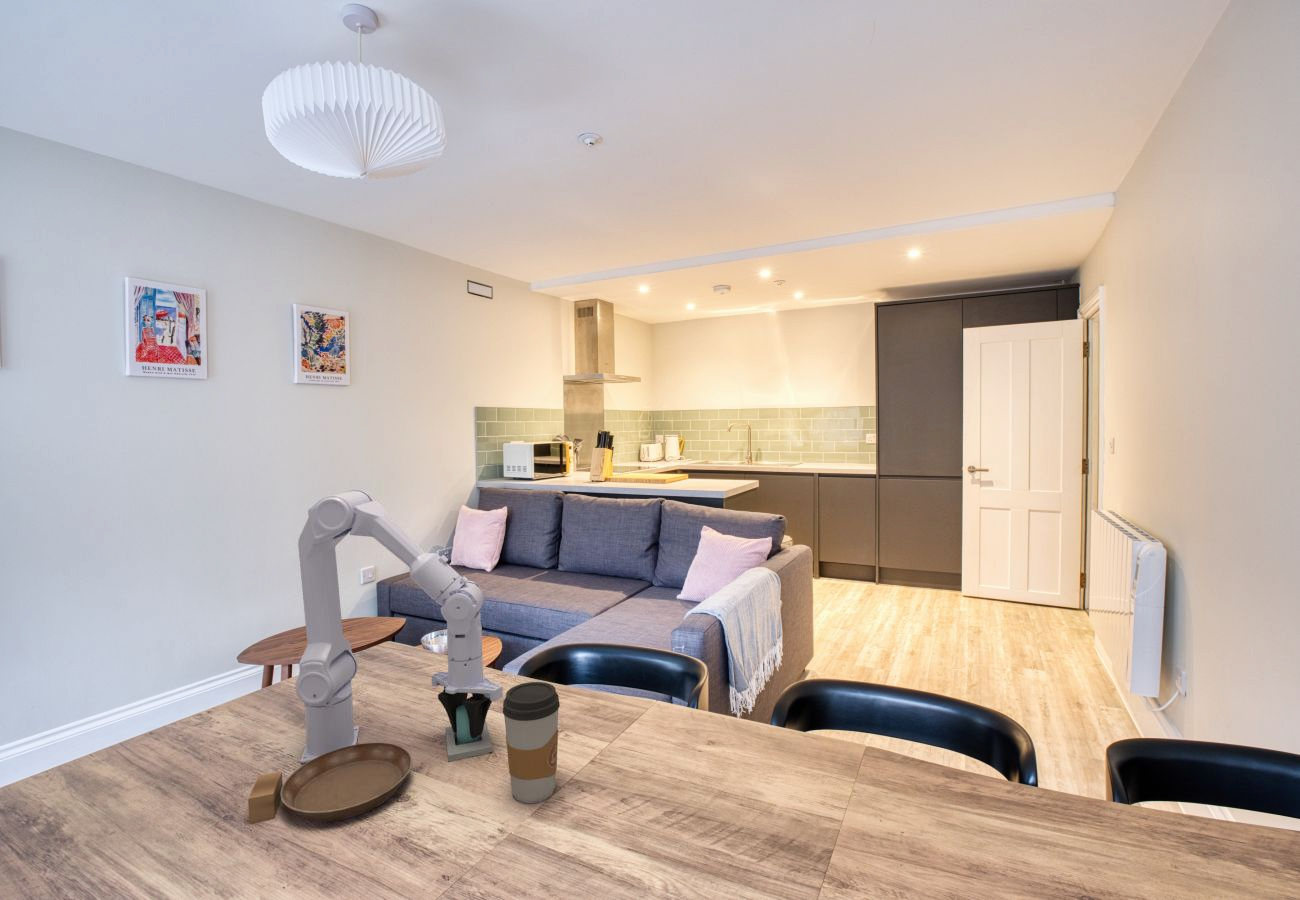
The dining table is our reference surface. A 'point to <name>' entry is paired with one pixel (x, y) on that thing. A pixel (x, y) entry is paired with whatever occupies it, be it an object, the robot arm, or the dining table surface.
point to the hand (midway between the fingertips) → (467, 732)
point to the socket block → (467, 745)
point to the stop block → (265, 797)
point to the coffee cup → (532, 739)
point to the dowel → (463, 727)
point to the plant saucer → (346, 781)
